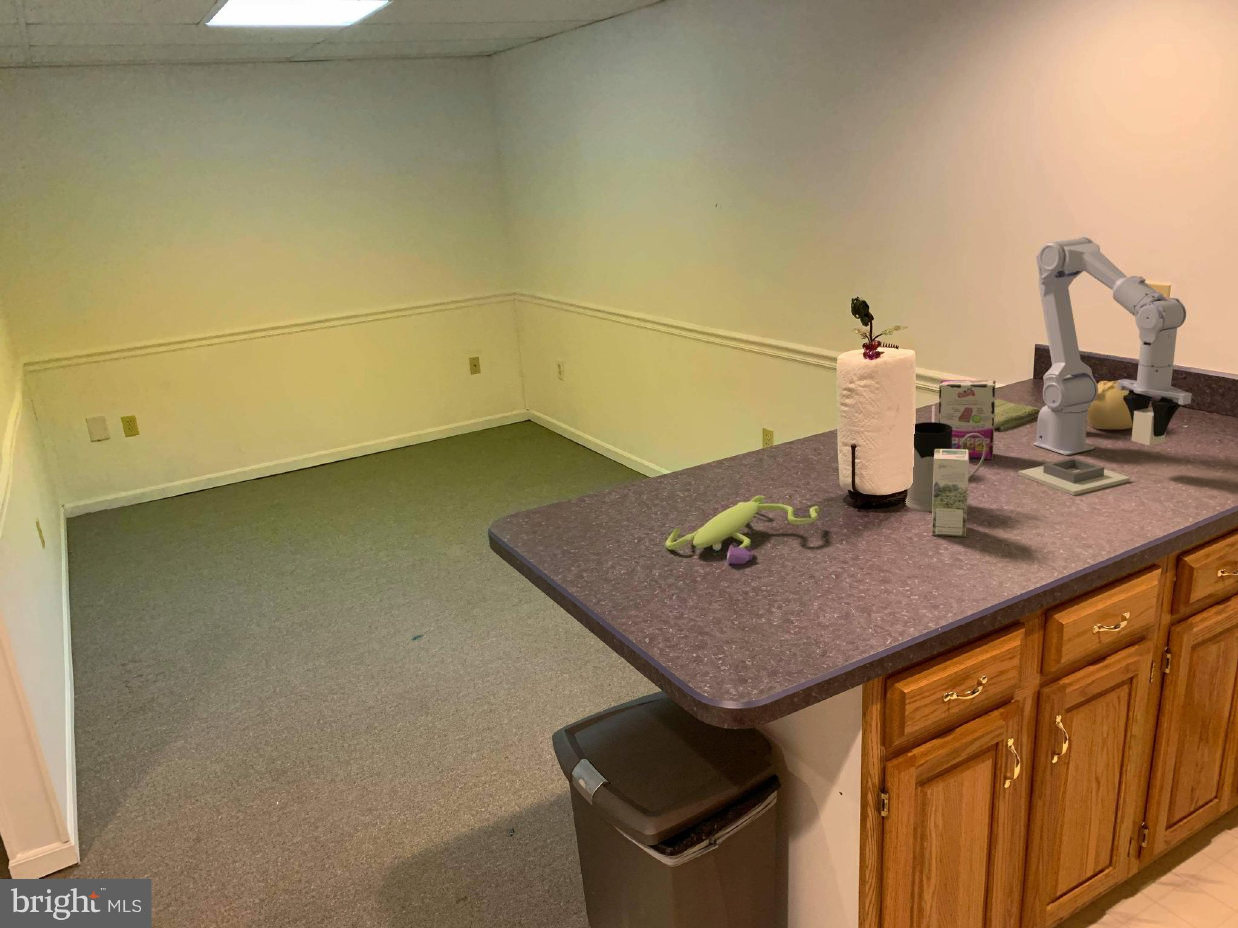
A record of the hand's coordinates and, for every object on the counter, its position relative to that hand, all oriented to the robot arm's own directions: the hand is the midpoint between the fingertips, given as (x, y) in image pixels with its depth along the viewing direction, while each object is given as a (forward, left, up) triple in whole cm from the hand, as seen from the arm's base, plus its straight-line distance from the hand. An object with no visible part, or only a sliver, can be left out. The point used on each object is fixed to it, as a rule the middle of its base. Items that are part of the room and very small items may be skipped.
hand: (1148, 432), depth 181 cm
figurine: (-13, -81, -9) cm, 83 cm away
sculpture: (-26, +19, -9) cm, 33 cm away
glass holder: (-8, -42, -9) cm, 43 cm away
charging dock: (-5, -13, -8) cm, 16 cm away
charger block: (0, 0, -2) cm, 2 cm away
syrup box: (+3, -50, -9) cm, 51 cm away
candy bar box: (-28, -20, -9) cm, 35 cm away
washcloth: (-45, +4, -9) cm, 46 cm away
